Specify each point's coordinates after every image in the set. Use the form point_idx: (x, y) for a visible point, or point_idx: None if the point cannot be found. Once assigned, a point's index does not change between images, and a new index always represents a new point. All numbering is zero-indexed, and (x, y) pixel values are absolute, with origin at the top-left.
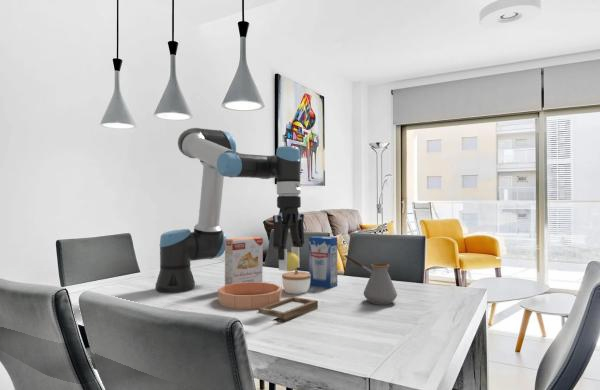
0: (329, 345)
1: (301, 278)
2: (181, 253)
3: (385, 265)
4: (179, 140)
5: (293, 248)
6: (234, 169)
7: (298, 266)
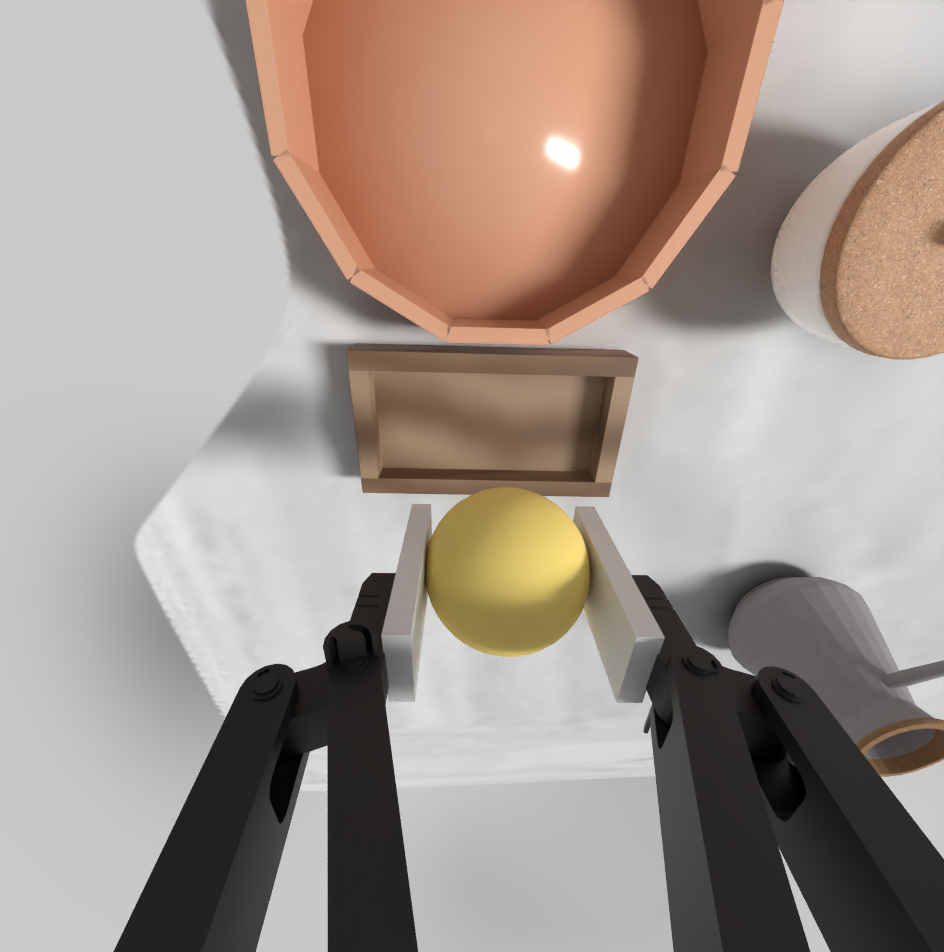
0: (307, 651)
1: (842, 337)
2: None
3: (929, 752)
4: None
5: (623, 645)
6: None
7: None
